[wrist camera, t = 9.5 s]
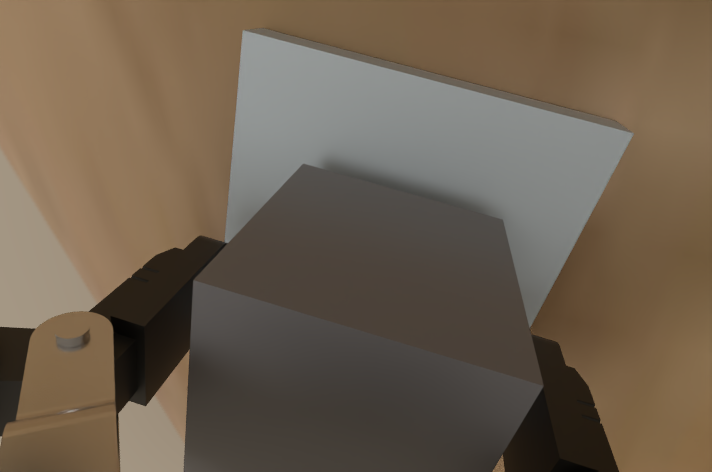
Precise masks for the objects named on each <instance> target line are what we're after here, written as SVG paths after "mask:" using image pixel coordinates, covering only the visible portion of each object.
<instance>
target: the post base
mask: <svg viewBox="0 0 712 472" xmlns="http://www.w3.org/2000/svg"><path fill="white" fill-rule="evenodd" d="M633 134H634V133H632V132H631V131H630V130H628V129H627V128H625V127H624V126H622V125H621V124H619V123H618V122H617V121H614V120H610V119H606V118H603V117H599V116H595V115H591V114H587V113H584V112H580V111H576V110H572V109H568V108H565V107H561V106H557V105H553V104H549V103H546V102H542V101H538V100H534V99H530V98H527V97H523V96H519V95H515V94H511V93H508V92H504V91H500V90H496V89H492V88H489V87H485V86H481V85H477V84H473V83H470V82H466V81H462V80H458V79H454V78H451V77H447V76H443V75H439V74H435V73H432V72H428V71H424V70H420V69H416V68H413V67H409V66H405V65H401V64H397V63H394V62H390V61H386V60H382V59H378V58H374V57H371V56H367V55H363V54H359V53H355V52H352V51H348V50H344V49H340V48H336V47H333V46H329V45H325V44H321V43H317V42H314V41H310V40H306V39H302V38H298V37H295V36H291V35H287V34H283V33H279V32H276V31H272V30H268V29H264V28H259V29H250V30H243V36H242V47H241V59H240V70H239V82H238V93H237V105H236V116H235V127H234V139H233V150H232V162H231V173H230V185H229V196H228V208H227V219H226V231H225V243H229V242H230V241H231V240H232V238H233V237H234V236H235V235H236V234H237V233H238V232H239V231H240V230H241V229H242V228H243V227H244V226H245V225H246V224H247V223H248V222H249V220H250V219H251V218H252V217H253V216H254V215H255V214H256V213H257V212H258V211H259V210H260V209H261V208H262V207H263V206H264V205H265V203H266V202H267V201H268V200H269V199H270V198H271V197H272V196H273V195H274V194H275V193H276V192H277V191H278V190H279V189H280V188H281V187H282V185H283V184H284V183H285V182H286V181H287V180H288V179H289V178H290V177H291V176H292V175H293V174H294V173H295V172H296V171H297V170H298V168H299V167H300V166H301V165H302V164H307V165H311V166H314V167H318V168H321V169H325V170H328V171H332V172H335V173H339V174H343V175H346V176H350V177H353V178H357V179H360V180H364V181H368V182H371V183H375V184H378V185H382V186H385V187H389V188H392V189H396V190H400V191H403V192H407V193H410V194H414V195H417V196H421V197H425V198H428V199H432V200H435V201H439V202H442V203H446V204H449V205H453V206H457V207H460V208H464V209H467V210H471V211H474V212H478V213H482V214H485V215H489V216H492V217H496V218H499V219H503V222H504V226H505V230H506V234H507V238H508V242H509V246H510V251H511V255H512V259H513V263H514V267H515V271H516V275H517V279H518V283H519V287H520V291H521V295H522V299H523V303H524V308H525V312H526V316H527V320H528V324H529V328H530V327H531V325H532V323H533V321H534V320H535V318H536V316H537V314H538V312H539V310H540V308H541V306H542V305H543V303H544V301H545V299H546V297H547V295H548V293H549V292H550V290H551V288H552V286H553V284H554V282H555V280H556V278H557V277H558V275H559V273H560V271H561V269H562V267H563V265H564V263H565V262H566V260H567V258H568V256H569V254H570V252H571V250H572V248H573V247H574V245H575V243H576V241H577V239H578V237H579V235H580V234H581V232H582V230H583V228H584V226H585V224H586V222H587V220H588V219H589V217H590V215H591V213H592V211H593V209H594V207H595V205H596V204H597V202H598V200H599V198H600V196H601V194H602V192H603V191H604V189H605V187H606V185H607V183H608V181H609V179H610V177H611V176H612V174H613V172H614V170H615V168H616V166H617V164H618V162H619V161H620V159H621V157H622V155H623V153H624V151H625V149H626V147H627V146H628V144H629V142H630V140H631V138H632V136H633Z"/></svg>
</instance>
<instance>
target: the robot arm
mask: <svg viewBox="0 0 712 472" xmlns="http://www.w3.org/2000/svg"><path fill="white" fill-rule="evenodd" d="M227 244H228V243H225V242H221V241H218V240H215V239H211V238H208V237H205V236H198V237H197V238H196V239H195V240H194V241H193V242H191V243H190V244H189V245H188V246H187V247H186V248H185V249H184V250H182V249H178V248H173V249H170V250H168V251H165V252H163V253H160V254H158V255H156V256H155V257H153V258H152V259H151V260H150V261H149V262H147V263H146V264H145V265H144V266H143V268H142V269H141V268H140V269H139V270H138V271H137V272H135V273H134V274H133V275H132V277H131V278H128V279H127V280H126V281H125V282H123V283H122V284H121V285H120V286H119V287H117V288H116V289H115V290H114V291H113V292H112V293H110V294H109V295H108V296H107V297H106V298H104V299H103V300H102V301H101V302H100V303H98V304H97V305H96V306H95V307H94V308H92V309H91V310H90V311H89V312H83V311H80V312H70V313H65V314H61V315H58V316H55V317H53V318H51V319H49V320H47V321H45V322H44V323H42V324H41V325H40V326H38V327H37V328H36V329H30V328H29V329H28V328H9V327H0V436H2V441H1V446H0V472H120V449H119V448H120V447H119V417H118V413H119V412H120V411H121V410H122V408H123V407H124V406H125V405H126V403H127V402H128V401H131V402H135V403H138V404H141V405H144V406H146V405H147V404H148V403H149V401H150V400H151V399H152V397H153V396H154V395H155V393H156V392H157V391H158V390H159V388H160V387H161V386H162V384H163V383H164V382H165V380H166V379H167V378H168V376H169V375H170V374H171V373H172V371H173V370H174V369H175V367H176V366H177V365H178V363H179V362H180V361H181V360H182V358H183V357H184V356H185V354H186V353H187V352H188V350H189V349H190V335H191V316H192V296H193V280H194V279H195V278H196V277H197V276H198V275H199V273H200V272H201V271H202V270H203V269H204V268H205V267H206V266H207V265H208V264H209V263H210V262H211V261H212V260H213V259H214V258H215V257H216V255H217V254H218V253H219V252H220V251H221V250H222V249H223V248H224V247H225V246H226V245H227ZM531 336H532V340H533V344H534V348H535V352H536V356H537V360H538V365H539V369H540V373H541V377H542V381H543V385H544V387H543V388H542V390H541V391H540V393H539V395H538V396H537V398H536V400H535V401H534V403H533V405H532V406H531V408H530V410H529V411H528V413H527V415H526V416H525V418H524V420H523V421H522V423H521V425H520V426H519V428H518V429H517V431H516V433H515V434H514V436H513V438H512V439H511V441H510V443H509V444H508V446H507V448H506V449H505V451H504V453H503V459H504V467H505V472H619V470H618V467H617V465H616V462H615V459H614V456H613V454H612V451H611V448H610V445H609V442H608V440H607V437H606V434H605V431H604V428H603V426H602V424H600V417H599V415H598V412H597V409H596V408H594V406H595V403H594V401H593V398H592V395H591V392H590V390H589V387H588V385H587V384H586V383H585V381H584V380H583V379H582V378H581V376H580V375H579V374H578V372H577V371H576V370H575V368H572V367H568V366H566V365H565V361H564V358H563V355H562V352H561V349H560V346H559V344H558V343H557V342H555V341H552V340H548V339H545V338H542V337H538V336H535V335H531Z"/></svg>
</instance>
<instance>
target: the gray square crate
mask: <svg viewBox="0 0 712 472" xmlns="http://www.w3.org/2000/svg"><path fill="white" fill-rule="evenodd" d="M543 387H544V385H543V381H542V377H541V373H540V369H539V365H538V360H537V356H536V352H535V348H534V344H533V340H532V336H531V332H530V328H529V324H528V320H527V316H526V312H525V308H524V303H523V299H522V295H521V291H520V287H519V283H518V279H517V275H516V271H515V267H514V263H513V259H512V255H511V251H510V246H509V242H508V238H507V234H506V230H505V226H504V222H503V219H499V218H496V217H492V216H489V215H485V214H482V213H478V212H474V211H471V210H467V209H464V208H460V207H457V206H453V205H449V204H446V203H442V202H439V201H435V200H432V199H428V198H425V197H421V196H417V195H414V194H410V193H407V192H403V191H400V190H396V189H392V188H389V187H385V186H382V185H378V184H375V183H371V182H368V181H364V180H360V179H357V178H353V177H350V176H346V175H343V174H339V173H335V172H332V171H328V170H325V169H321V168H318V167H314V166H311V165H307V164H302V165H301V166H300V167H299V168H298V170H297V171H296V172H295V173H294V174H293V175H292V176H291V177H290V178H289V179H288V180H287V181H286V182H285V183H284V184H283V185H282V187H281V188H280V189H279V190H278V191H277V192H276V193H275V194H274V195H273V196H272V197H271V198H270V199H269V200H268V201H267V202H266V203H265V205H264V206H263V207H262V208H261V209H260V210H259V211H258V212H257V213H256V214H255V215H254V216H253V217H252V218H251V219H250V220H249V222H248V223H247V224H246V225H245V226H244V227H243V228H242V229H241V230H240V231H239V232H238V233H237V234H236V235H235V236H234V237H233V238H232V240H231V241H230V242H229V243H228V244H227V245H226V246H225V247H224V248H223V249H222V250H221V251H220V252H219V253H218V254H217V255H216V257H215V258H214V259H213V260H212V261H211V262H210V263H209V264H208V265H207V266H206V267H205V268H204V269H203V270H202V271H201V272H200V273H199V275H198V276H197V277H196V278H195V279H194V280H193V296H192V316H191V335H190V355H189V375H188V395H187V415H186V435H185V455H184V472H492V471H493V469H494V468H495V466H496V464H497V463H498V461H499V459H500V458H501V456H502V454H503V453H504V451H505V449H506V448H507V446H508V444H509V443H510V441H511V439H512V438H513V436H514V434H515V433H516V431H517V429H518V428H519V426H520V425H521V423H522V421H523V420H524V418H525V416H526V415H527V413H528V411H529V410H530V408H531V406H532V405H533V403H534V401H535V400H536V398H537V396H538V395H539V393H540V391H541V390H542V388H543Z"/></svg>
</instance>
